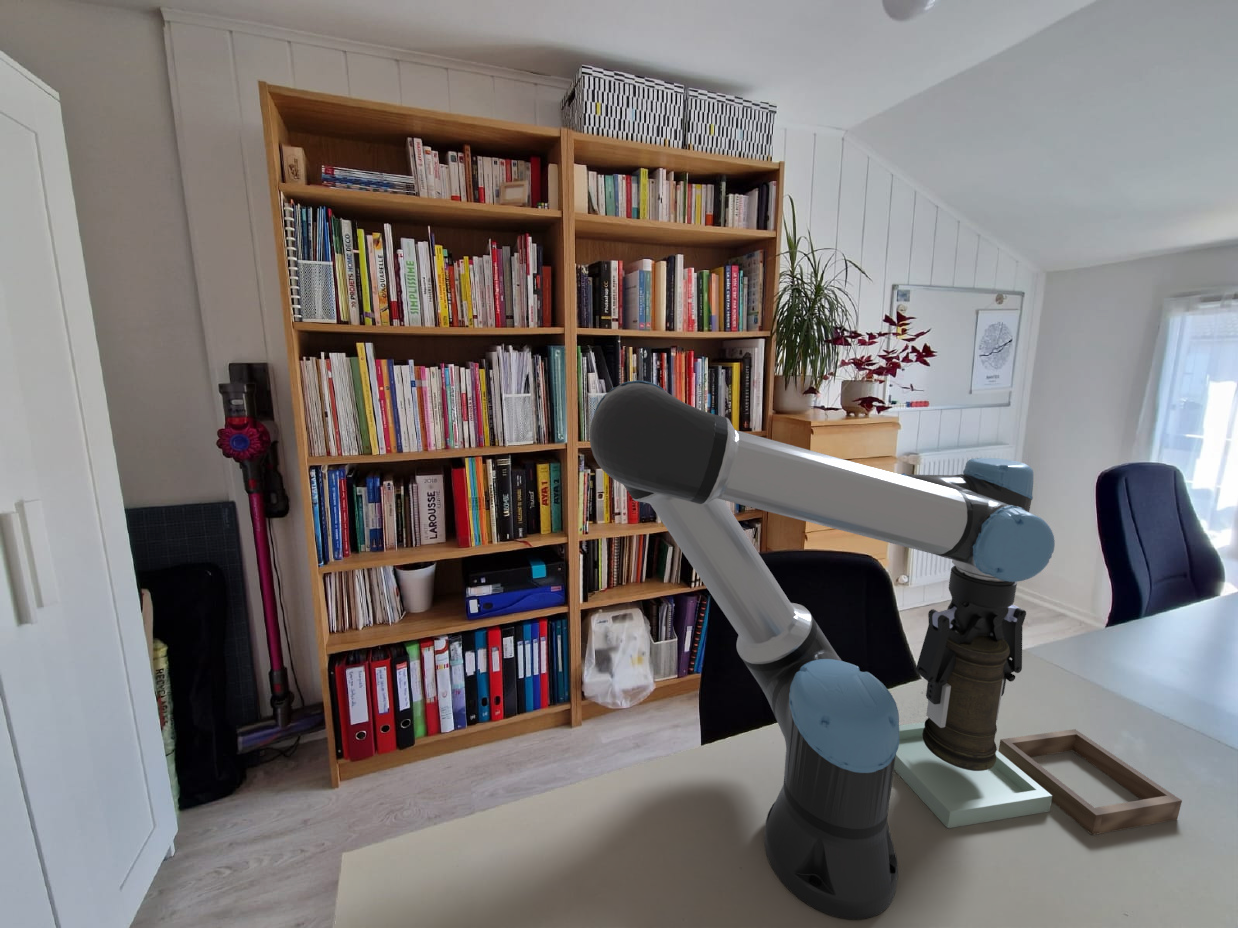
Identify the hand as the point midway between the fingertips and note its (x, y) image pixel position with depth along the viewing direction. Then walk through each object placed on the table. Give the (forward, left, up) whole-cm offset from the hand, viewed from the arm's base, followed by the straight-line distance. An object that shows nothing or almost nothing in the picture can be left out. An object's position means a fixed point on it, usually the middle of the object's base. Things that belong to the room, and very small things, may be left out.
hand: (961, 717), depth 76 cm
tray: (0, 0, -10) cm, 10 cm away
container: (0, 0, -5) cm, 5 cm away
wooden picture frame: (+17, -5, -10) cm, 20 cm away
